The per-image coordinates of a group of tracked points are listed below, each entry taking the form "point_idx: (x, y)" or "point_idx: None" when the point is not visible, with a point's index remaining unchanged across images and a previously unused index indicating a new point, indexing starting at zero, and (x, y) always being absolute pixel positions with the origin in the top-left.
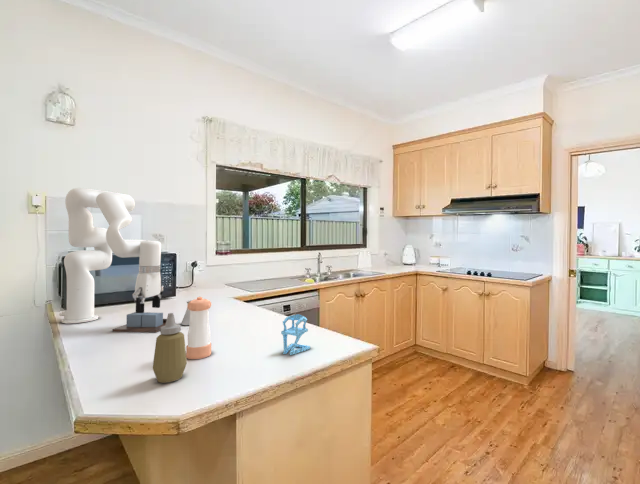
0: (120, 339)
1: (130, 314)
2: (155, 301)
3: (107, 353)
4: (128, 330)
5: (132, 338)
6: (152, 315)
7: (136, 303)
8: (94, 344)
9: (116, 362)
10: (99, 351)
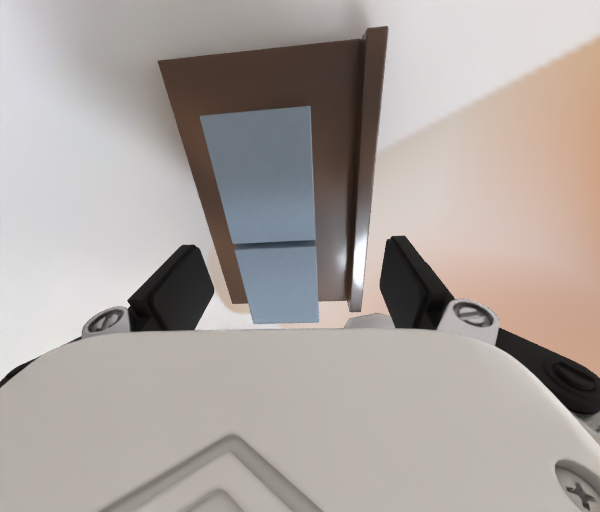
0: (112, 239)
1: (218, 149)
2: (402, 300)
3: (21, 305)
4: (198, 183)
5: (145, 271)
6: (250, 307)
7: (133, 303)
8: (9, 189)
9: (19, 357)
10: (5, 273)
